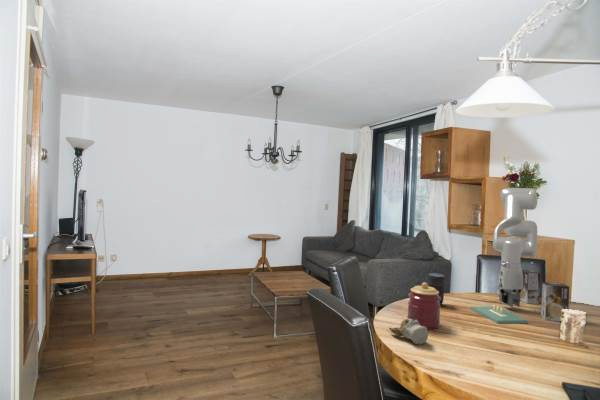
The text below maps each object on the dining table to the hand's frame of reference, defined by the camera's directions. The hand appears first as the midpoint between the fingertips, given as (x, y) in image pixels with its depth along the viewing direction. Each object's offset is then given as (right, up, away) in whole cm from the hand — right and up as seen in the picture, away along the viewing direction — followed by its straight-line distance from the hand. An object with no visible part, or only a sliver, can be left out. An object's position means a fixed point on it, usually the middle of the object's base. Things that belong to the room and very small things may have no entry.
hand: (509, 302), depth 186 cm
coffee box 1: (+18, -4, +16) cm, 24 cm away
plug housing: (0, -1, 0) cm, 1 cm away
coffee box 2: (+13, -4, -13) cm, 19 cm away
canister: (-51, -2, -27) cm, 58 cm away
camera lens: (-35, -2, +3) cm, 36 cm away
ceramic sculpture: (-61, -2, -44) cm, 75 cm away
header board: (-12, -3, -11) cm, 16 cm away
